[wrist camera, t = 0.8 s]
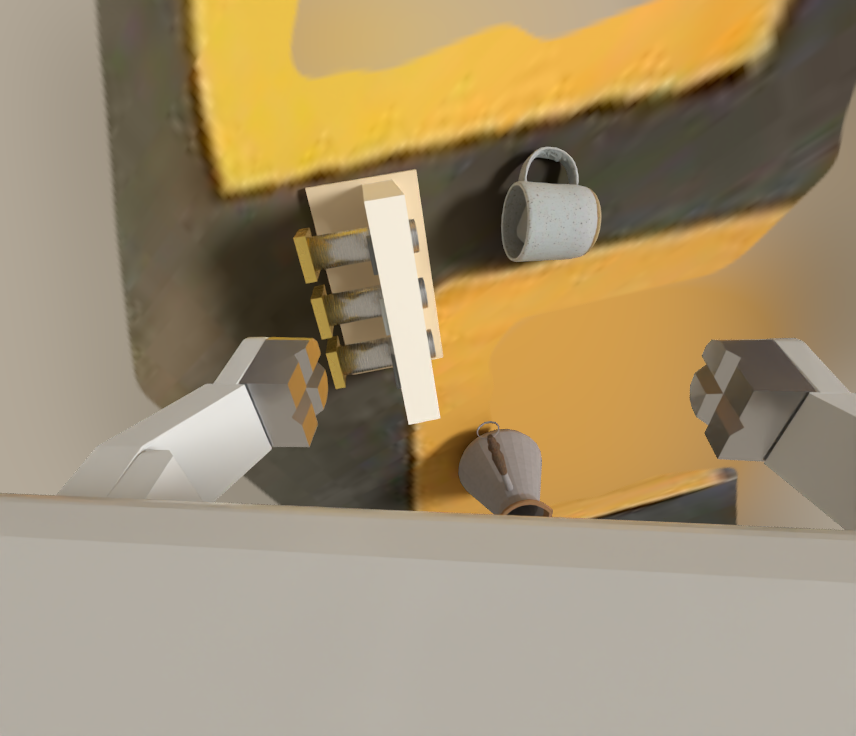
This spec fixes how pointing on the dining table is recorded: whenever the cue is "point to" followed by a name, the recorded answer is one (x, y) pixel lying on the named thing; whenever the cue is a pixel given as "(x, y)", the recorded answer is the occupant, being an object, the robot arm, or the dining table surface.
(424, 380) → the panel
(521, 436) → the coffee pot
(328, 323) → the middle rod
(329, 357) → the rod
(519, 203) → the ceramic mug
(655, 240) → the dining table surface
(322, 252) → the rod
